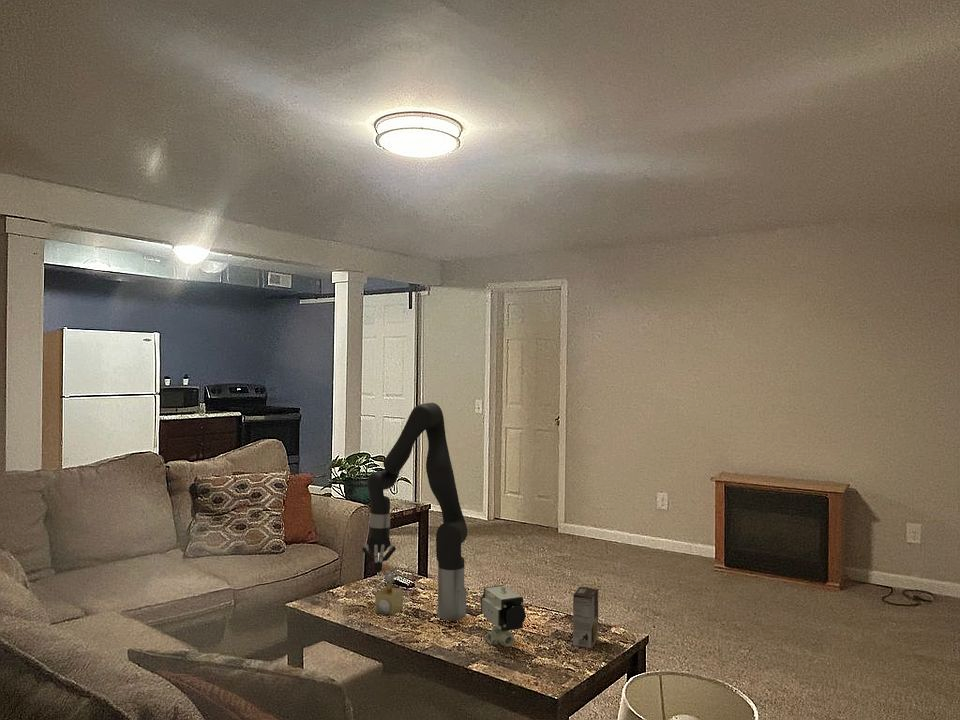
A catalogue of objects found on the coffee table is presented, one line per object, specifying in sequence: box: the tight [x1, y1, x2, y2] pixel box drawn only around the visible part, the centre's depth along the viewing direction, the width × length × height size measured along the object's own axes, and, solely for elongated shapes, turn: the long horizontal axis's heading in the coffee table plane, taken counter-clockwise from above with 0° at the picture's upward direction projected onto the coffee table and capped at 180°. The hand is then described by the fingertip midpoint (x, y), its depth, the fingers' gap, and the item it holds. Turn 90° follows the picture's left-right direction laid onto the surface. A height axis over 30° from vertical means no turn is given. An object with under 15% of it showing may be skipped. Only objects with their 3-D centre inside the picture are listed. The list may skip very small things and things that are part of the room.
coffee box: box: [572, 586, 599, 649], centre depth 227 cm, size 9×6×16 cm
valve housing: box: [374, 582, 404, 616], centre depth 253 cm, size 7×9×10 cm
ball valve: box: [480, 584, 526, 648], centre depth 225 cm, size 18×8×18 cm, turn 25°
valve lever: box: [381, 563, 395, 583], centre depth 258 cm, size 15×3×2 cm, turn 15°
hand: (378, 572), depth 262 cm, fingers closed
